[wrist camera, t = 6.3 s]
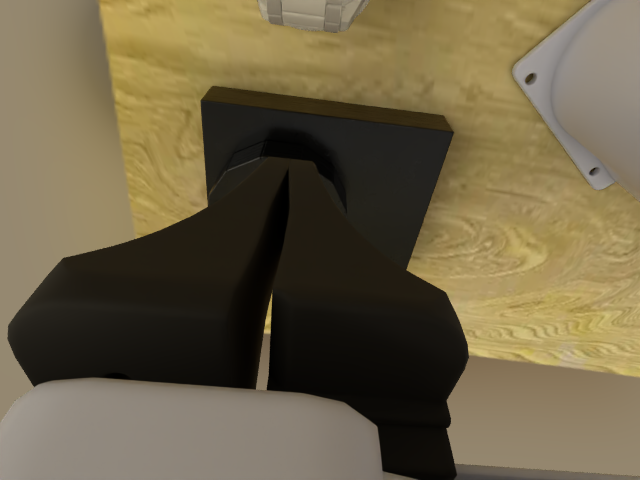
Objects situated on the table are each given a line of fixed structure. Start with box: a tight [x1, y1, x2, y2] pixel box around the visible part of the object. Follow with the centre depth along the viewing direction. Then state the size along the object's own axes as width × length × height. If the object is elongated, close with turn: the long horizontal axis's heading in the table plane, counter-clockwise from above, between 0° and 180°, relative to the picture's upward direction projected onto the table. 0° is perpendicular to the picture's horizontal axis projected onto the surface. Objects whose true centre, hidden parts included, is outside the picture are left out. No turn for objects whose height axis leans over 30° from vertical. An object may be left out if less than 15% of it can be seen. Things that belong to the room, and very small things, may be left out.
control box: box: [201, 86, 454, 269], centre depth 21 cm, size 12×10×4 cm
